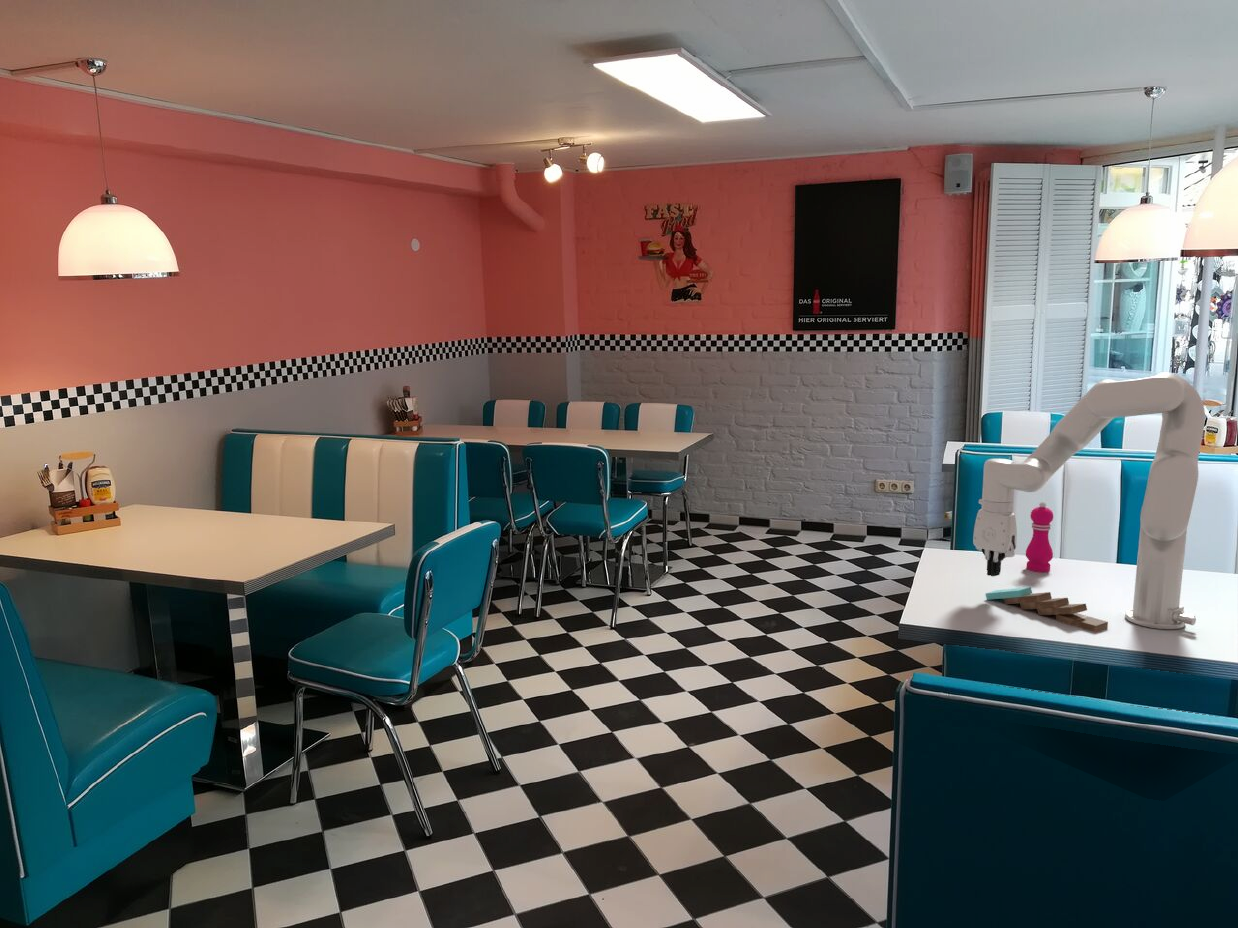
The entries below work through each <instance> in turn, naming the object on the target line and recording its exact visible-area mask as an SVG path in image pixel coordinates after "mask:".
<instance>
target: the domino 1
mask: <svg viewBox="0 0 1238 928" xmlns="http://www.w3.org/2000/svg"><path fill="white" fill-rule="evenodd" d="M1028 594H1033V590H1032V587H1031V586H1027V587H1015V588H1006V589H996V590H993V591H989V592H986V593H985V598H986V600H987V601H988V600H989V601H990V600H999V599H1004V598H1012V597H1022V596H1025V595H1028Z"/></svg>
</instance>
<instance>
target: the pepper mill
mask: <svg viewBox="0 0 1238 928" xmlns="http://www.w3.org/2000/svg"><path fill="white" fill-rule="evenodd" d="M1038 505H1039V506H1038V507H1037V506H1036V507H1034V508H1033V509H1032V510H1031V512H1030V514H1029V515H1030V519H1031V521H1032V523H1031V528H1032V537H1031V540H1030V542H1029V544H1028V545H1027V547H1026V550H1025V557H1026V559H1027V562H1026V569H1027V570H1028V571H1030V572H1031V571H1032V572H1039V573H1047V572H1050V571H1051V563H1050V562H1051V561H1052V559H1053V557H1054V552H1053V549H1052V546H1051V543H1050V540H1049V532H1050V530H1051V526H1052V524H1051V523H1052V521H1054V512H1053V511H1052V510H1051V509H1050V508H1049V507H1046V506H1047V503H1046V502H1045V501H1040V502H1039V503H1038Z"/></svg>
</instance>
